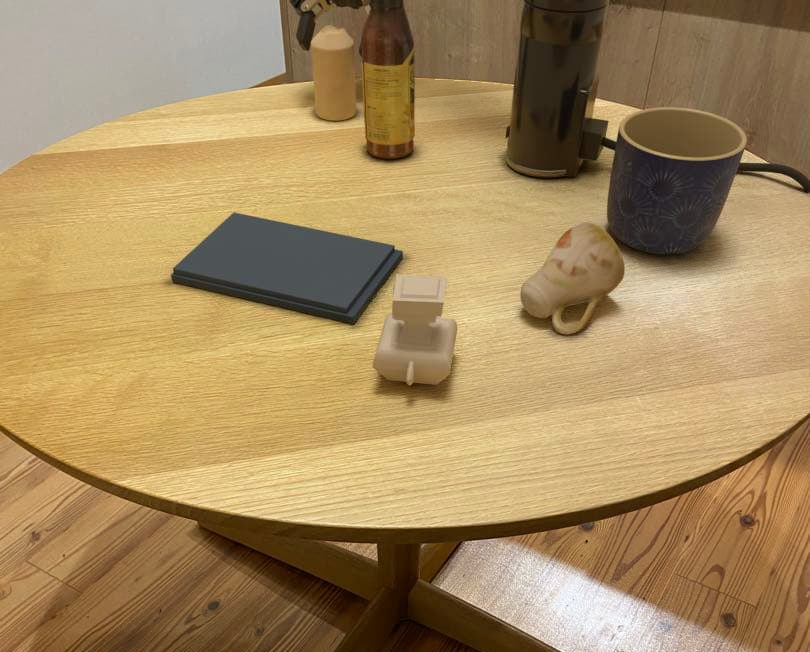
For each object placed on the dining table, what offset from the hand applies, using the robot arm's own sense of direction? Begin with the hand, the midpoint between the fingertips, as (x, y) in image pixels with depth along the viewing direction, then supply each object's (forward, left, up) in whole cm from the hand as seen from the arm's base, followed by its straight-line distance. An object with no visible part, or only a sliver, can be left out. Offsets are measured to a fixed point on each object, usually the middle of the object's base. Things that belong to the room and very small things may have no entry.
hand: (333, 52), depth 102 cm
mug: (-40, +34, -8) cm, 53 cm away
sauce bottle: (-11, +8, -8) cm, 16 cm away
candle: (0, 0, -8) cm, 7 cm away
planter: (-46, +17, -8) cm, 50 cm away
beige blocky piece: (-30, +49, -8) cm, 58 cm away
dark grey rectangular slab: (-12, +38, -7) cm, 41 cm away
